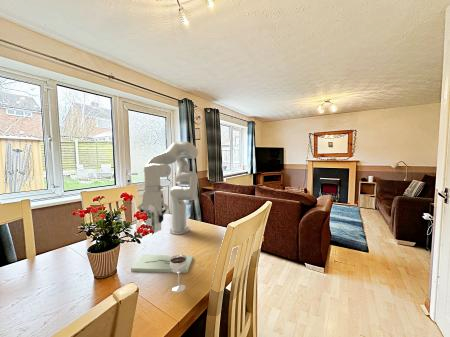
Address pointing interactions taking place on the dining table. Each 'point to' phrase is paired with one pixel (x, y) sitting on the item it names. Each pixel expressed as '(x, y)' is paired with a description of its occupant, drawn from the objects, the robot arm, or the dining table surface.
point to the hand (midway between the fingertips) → (153, 221)
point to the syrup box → (153, 218)
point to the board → (157, 263)
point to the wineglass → (178, 269)
